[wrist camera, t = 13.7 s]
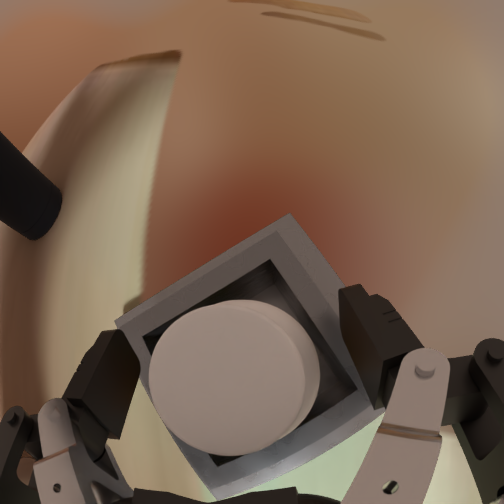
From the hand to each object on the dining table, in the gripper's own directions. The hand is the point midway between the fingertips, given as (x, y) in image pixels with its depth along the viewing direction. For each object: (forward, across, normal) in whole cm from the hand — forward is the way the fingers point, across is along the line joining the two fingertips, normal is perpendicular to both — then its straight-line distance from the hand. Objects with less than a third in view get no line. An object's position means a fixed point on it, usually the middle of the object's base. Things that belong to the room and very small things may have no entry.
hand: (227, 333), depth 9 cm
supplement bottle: (+4, 0, +6) cm, 7 cm away
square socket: (+5, 0, +6) cm, 8 cm away
